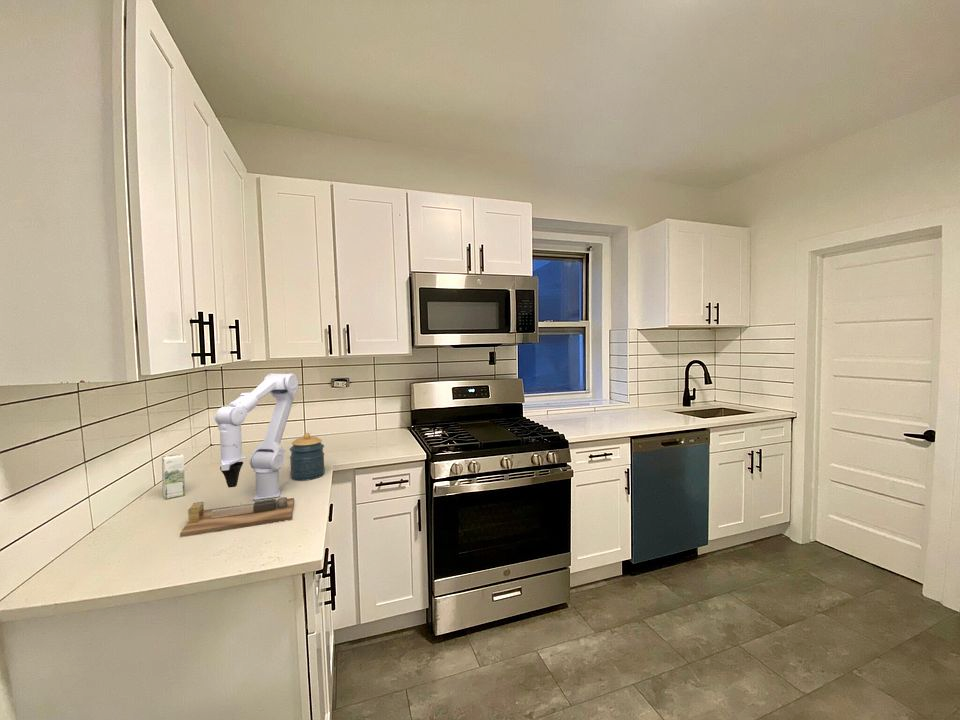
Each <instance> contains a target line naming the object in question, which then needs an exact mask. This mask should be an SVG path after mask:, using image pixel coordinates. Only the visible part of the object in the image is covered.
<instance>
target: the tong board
mask: <svg viewBox="0 0 960 720" xmlns="http://www.w3.org/2000/svg"><path fill="white" fill-rule="evenodd" d="M273 501H275V504H276V508H275V510H270V511H263V512H256V513H247V514H240V515H233V516H226V517H219V518H212V516H211V512H212V510H216V509H224V508H231V507H238V506H245V505H253V504H258V503H265V502H273ZM294 504H295V497H291V498H288V497H286V496H285V497H284V496H283V497H278V498H268V499H261V500H254V501H251V502H244V503H243V502H242V503H240V504H239V505H231V506H226V507H225V506H224V507H217V508H210V509H204V515H199V522H193V523H189V520H187V523H186V524H185V526H184V527H183V528H182V529H181V531H180V533H179V537H180V538H182V537H183V538H184V537H190V536H195V535H203V534H209V533H215V532H216V531H217V532H221V531H223V532H224V531H228V530H233V529H234V530H236V529H241V528H248V527H253V526H254V527H255V526H261V525H266V524H267V523H268V524H273V523H274V522H275V523H280V522H279V521H281V522H286V521H285V520H288V521H292V519H291V518H293V512H292V511H294V506H293V505H294Z"/></svg>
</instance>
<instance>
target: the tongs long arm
mask: <svg viewBox="0 0 960 720" xmlns="http://www.w3.org/2000/svg"><path fill="white" fill-rule="evenodd" d="M237 506H238V505H237ZM230 507H231V506H230ZM275 508H276V504H275V501H273V502H265V503H258V504H253V505H245V506H238V507H231V508H224V509H216V508H215V509H216V510H212V512H211V516H212V518H219V517H226V516H233V515H240V514H247V513H256V512H263V511H270V510H275Z"/></svg>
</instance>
